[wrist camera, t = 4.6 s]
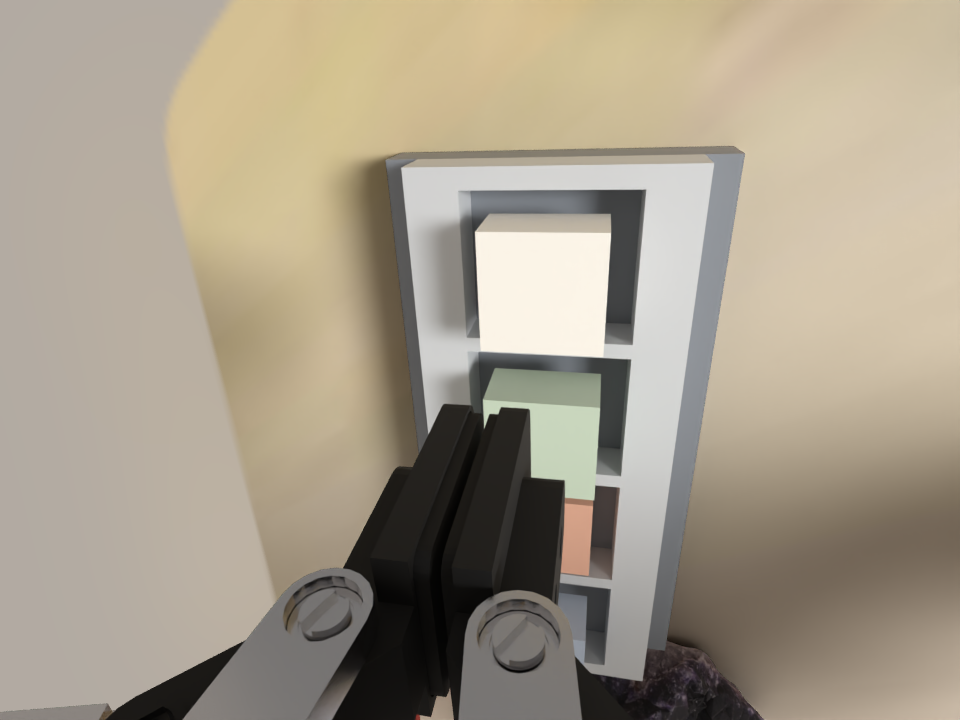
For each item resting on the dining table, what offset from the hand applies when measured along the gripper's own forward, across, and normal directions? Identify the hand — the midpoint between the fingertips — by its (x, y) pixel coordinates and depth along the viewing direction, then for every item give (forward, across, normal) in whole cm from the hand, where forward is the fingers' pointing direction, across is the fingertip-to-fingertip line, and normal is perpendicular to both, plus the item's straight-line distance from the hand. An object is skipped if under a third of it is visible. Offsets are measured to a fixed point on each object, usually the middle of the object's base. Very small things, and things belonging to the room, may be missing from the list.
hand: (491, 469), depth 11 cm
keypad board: (+15, 0, +9) cm, 18 cm away
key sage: (+11, 0, +6) cm, 13 cm away
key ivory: (+11, 0, 0) cm, 11 cm away
